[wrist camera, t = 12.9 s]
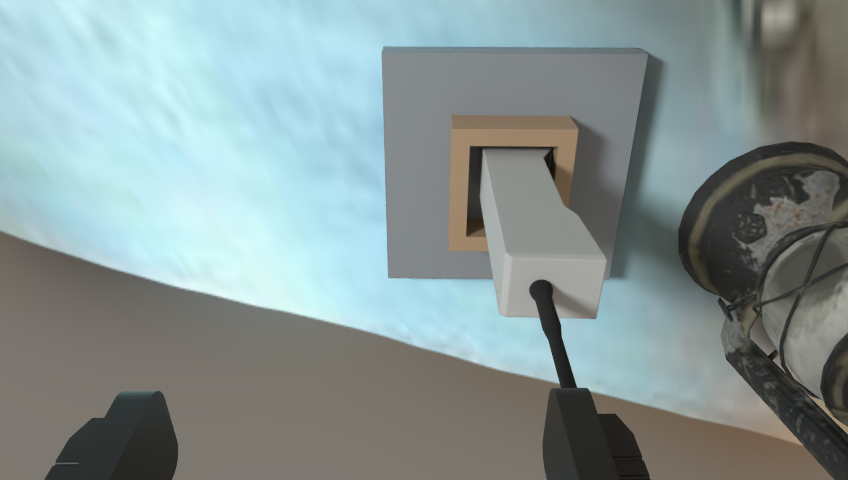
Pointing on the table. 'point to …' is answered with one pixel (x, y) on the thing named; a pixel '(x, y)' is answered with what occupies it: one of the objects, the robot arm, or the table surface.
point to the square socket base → (500, 142)
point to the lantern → (781, 281)
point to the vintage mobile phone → (537, 246)
